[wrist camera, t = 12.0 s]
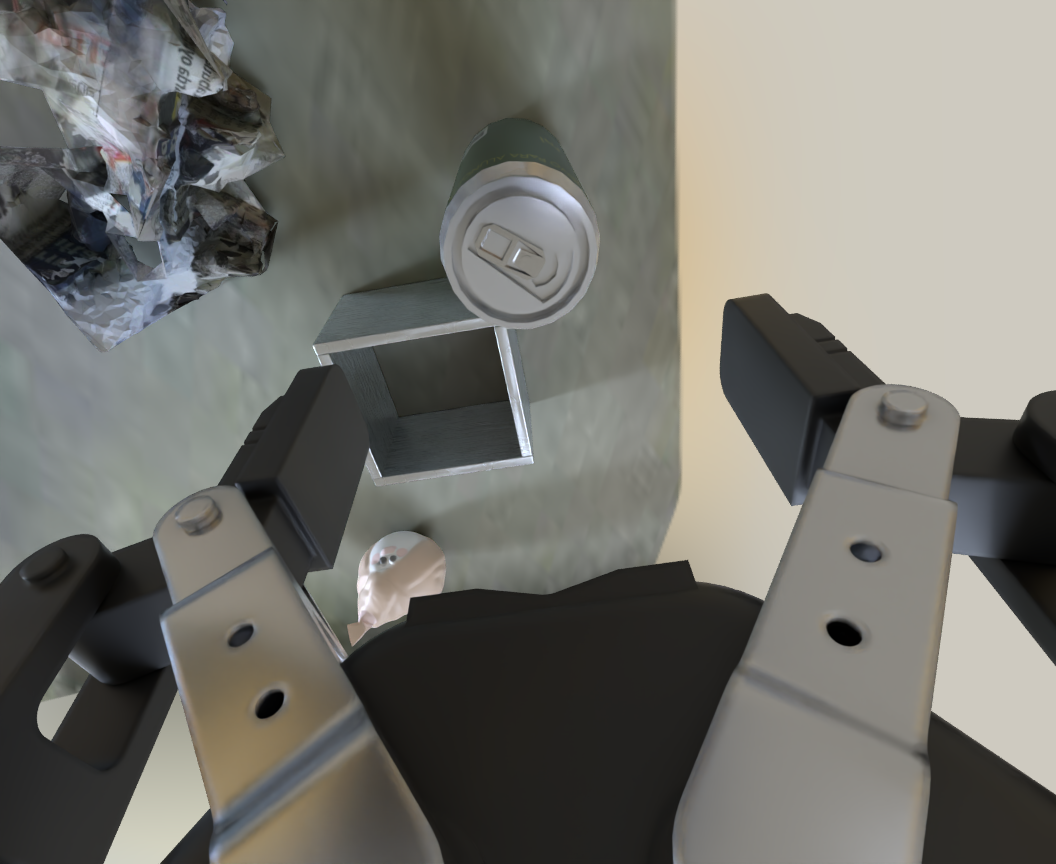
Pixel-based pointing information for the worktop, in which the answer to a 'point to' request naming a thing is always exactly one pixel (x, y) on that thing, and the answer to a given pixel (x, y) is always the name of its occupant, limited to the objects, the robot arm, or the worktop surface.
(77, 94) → the foil
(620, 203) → the worktop surface
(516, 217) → the beer can
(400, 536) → the garlic bulb
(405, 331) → the open square box
